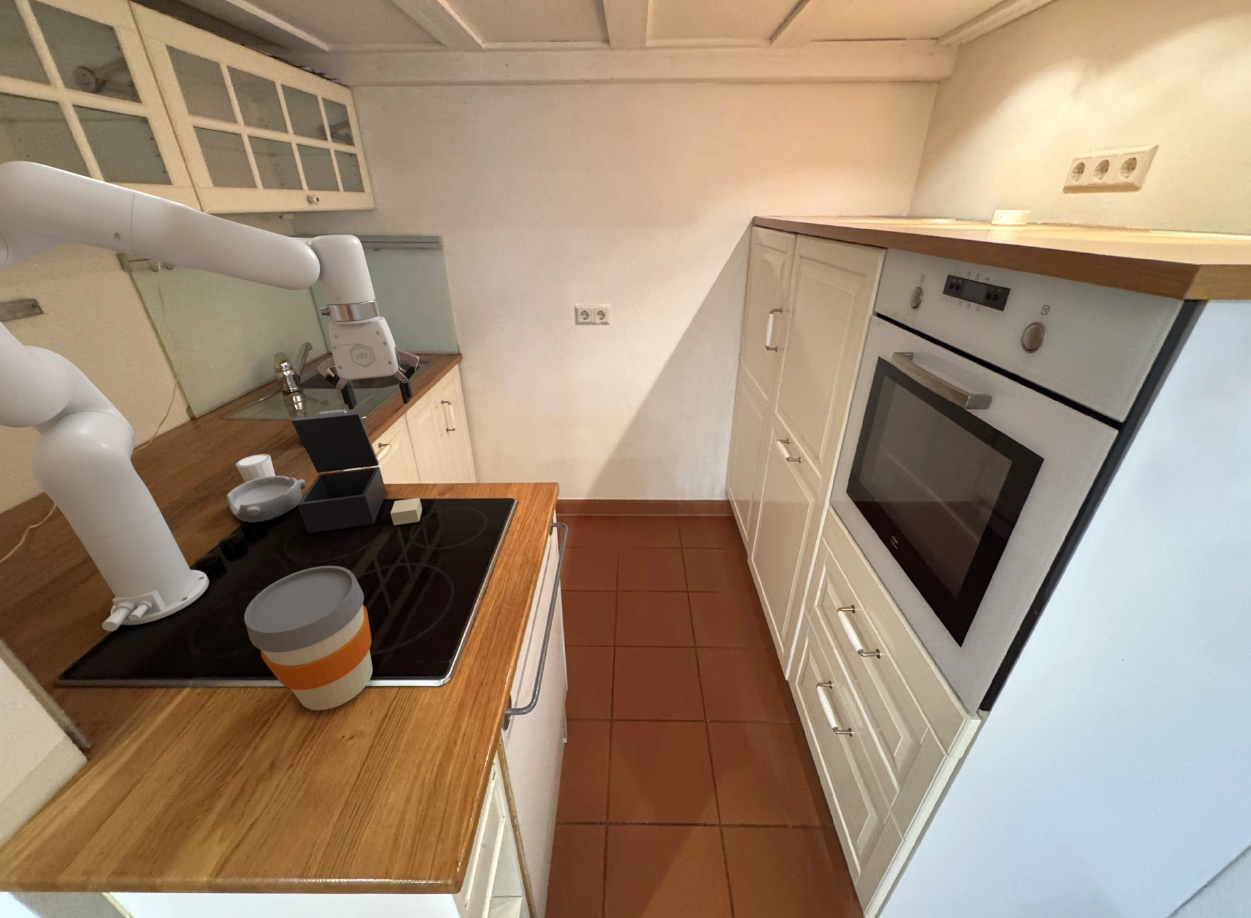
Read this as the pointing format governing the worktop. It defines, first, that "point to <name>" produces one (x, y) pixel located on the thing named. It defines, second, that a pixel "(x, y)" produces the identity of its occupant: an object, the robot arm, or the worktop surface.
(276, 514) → the dish
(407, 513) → the cream rectangular block
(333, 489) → the dark grey storage bin
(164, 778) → the worktop surface
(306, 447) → the lid
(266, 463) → the white fluted cup
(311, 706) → the reusable coffee cup
